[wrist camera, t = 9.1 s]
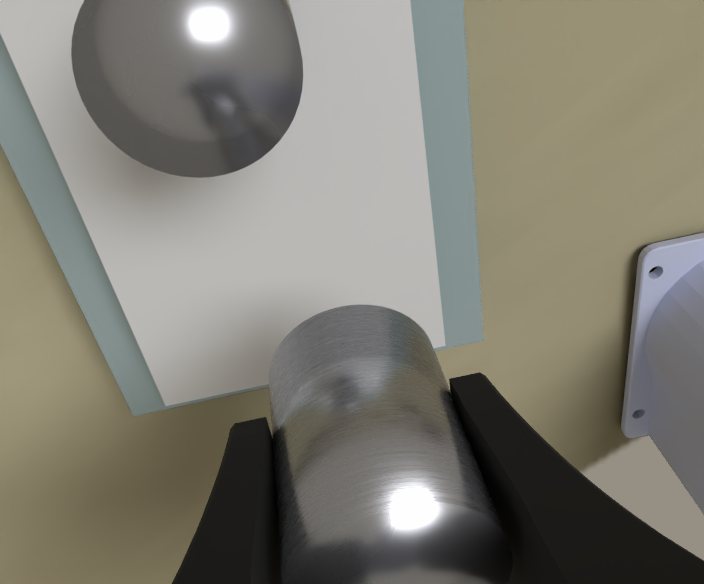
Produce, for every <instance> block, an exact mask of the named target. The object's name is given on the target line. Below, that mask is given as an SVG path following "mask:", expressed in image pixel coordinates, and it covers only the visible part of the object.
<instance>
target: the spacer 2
mask: <svg viewBox="0 0 704 584" xmlns="http://www.w3.org/2000/svg"><path fill="white" fill-rule="evenodd" d="M269 389H270V405H271V421H272V436H273V452H274V468H275V483H276V499H277V515H278V530H279V546H280V562H281V577H282V584H507V582H508V580H509V578H510V575H511V572H512V567H513V554H512V549H511V546H510V544H509V541H508V538H507V536H506V533H505V531H504V528H503V526H502V523H501V520H500V518H499V515H498V513H497V510H496V508H495V505H494V503H493V500H492V497H491V495H490V492H489V490H488V487H487V485H486V482H485V479H484V477H483V474H482V472H481V469H480V467H479V464H478V461H477V459H476V456H475V454H474V451H473V449H472V446H471V444H470V441H469V439H468V436H467V434H466V431H465V429H464V426H463V424H462V421H461V419H460V416H459V413H458V411H457V408H456V406H455V403H454V401H453V398H452V395H451V392H450V390H449V387H448V384H447V382H446V379H445V377H444V374H443V372H442V369H441V367H440V364H439V361H438V359H437V356H436V354H435V351H434V349H433V346H432V344H431V341H430V339H429V337H428V336H427V334H426V333H425V331H424V330H423V329H422V328H421V327H420V326H419V325H418V324H417V323H416V322H415V321H414V320H412V319H411V318H410V317H408V316H406V315H404V314H403V313H401V312H398V311H396V310H393V309H390V308H386V307H382V306H376V305H361V304H358V305H347V306H342V307H336V308H333V309H330V310H326V311H323V312H321V313H319V314H316V315H314V316H312V317H310V318H309V319H307V320H305V321H303V322H302V323H301V324H299V325H298V326H297V327H295V328H294V329H293V330H292V331H291V332H290V333H289V334H288V335H287V336H286V337H285V338H284V339H283V340H282V342H281V343H280V344H279V346H278V348H277V349H276V351H275V353H274V355H273V358H272V360H271V364H270V368H269Z"/></svg>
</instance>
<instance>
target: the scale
mask: <svg viewBox="0 0 704 584" xmlns="http://www.w3.org/2000/svg"><path fill="white" fill-rule="evenodd" d="M289 1H290V5H291V10H292V14H293V18H294V23H295V27H296V31H297V36H298V40H299V44H300V49H301V55H302V60H303V86H302V93H301V98H300V103H299V106H298V109H297V111H296V114H295V117H294V119H293V121H292V123H291V125H290V127H289V129H288V130H287V131H286V133H285V134H284V136H283V137H282V139H281V140H280V141H279V142H278V143H277V144H276V145H275V146H274V148H273V149H272V150H270V151H269V152H268V153H267V154H266V155H264V156H263V157H262V158H261V159H259V160H257V161H256V162H254V163H253V164H251V165H249V166H247V167H245V168H243V169H240V170H238V171H235V172H232V173H229V174H226V175H220V176H215V177H203V178H194V177H182V176H177V175H171V174H168V173H164V172H161V171H158V170H155V169H153V168H150V167H148V166H146V165H143V164H142V163H140V162H138V161H136V160H135V159H133V158H131V157H130V156H128V155H127V154H126V153H124V152H123V151H121V150H120V149H119V148H118V147H117V146H115V145H114V144H113V143H112V142H111V141H110V140H109V139H108V138H107V137H106V136H105V135H104V134H103V132H102V131H101V130H100V129H99V128H98V127H97V125H96V124H95V122H94V121H93V119H92V118H91V116H90V115H89V113H88V111H87V109H86V107H85V106H84V104H83V102H82V100H81V97H80V94H79V92H78V89H77V86H76V82H75V78H74V74H73V68H72V58H71V47H72V36H73V30H74V25H75V22H76V19H77V15H78V12H79V10H80V8H81V6H82V4H83V2H84V0H0V144H1V146H2V148H3V150H4V152H5V154H6V156H7V158H8V160H9V162H10V165H11V167H12V169H13V171H14V173H15V175H16V177H17V179H18V181H19V183H20V185H21V187H22V189H23V191H24V193H25V195H26V197H27V199H28V201H29V203H30V205H31V208H32V210H33V212H34V214H35V216H36V218H37V220H38V222H39V224H40V226H41V228H42V230H43V232H44V234H45V236H46V238H47V240H48V242H49V244H50V246H51V248H52V251H53V253H54V255H55V257H56V259H57V261H58V263H59V265H60V267H61V269H62V271H63V273H64V275H65V277H66V279H67V281H68V283H69V285H70V287H71V289H72V292H73V294H74V296H75V298H76V300H77V302H78V304H79V306H80V308H81V310H82V312H83V314H84V316H85V318H86V320H87V322H88V324H89V326H90V328H91V330H92V332H93V335H94V337H95V339H96V341H97V343H98V345H99V347H100V349H101V351H102V353H103V355H104V357H105V359H106V361H107V363H108V365H109V367H110V369H111V371H112V373H113V376H114V378H115V380H116V382H117V384H118V386H119V388H120V390H121V392H122V394H123V396H124V398H125V400H126V402H127V404H128V406H129V408H130V410H131V412H132V414H133V416H138V415H142V414H147V413H151V412H156V411H161V410H165V409H170V408H175V407H179V406H184V405H188V404H193V403H198V402H202V401H207V400H211V399H216V398H221V397H225V396H230V395H235V394H239V393H244V392H248V391H253V390H258V389H262V388H267V387H269V368H270V364H271V360H272V358H273V355H274V353H275V351H276V349H277V348H278V346H279V344H280V343H281V342H282V340H283V339H284V338H285V337H286V336H287V335H288V334H289V333H290V332H291V331H292V330H293V329H294V328H295V327H297V326H298V325H299V324H301V323H302V322H303V321H305V320H307V319H309V318H310V317H312V316H314V315H316V314H319V313H321V312H323V311H326V310H330V309H333V308H336V307H342V306H347V305H358V304H361V305H376V306H382V307H386V308H390V309H393V310H396V311H398V312H401V313H403V314H404V315H406V316H408V317H410V318H411V319H412V320H414V321H415V322H416V323H417V324H418V325H419V326H420V327H421V328H422V329H423V330H424V331H425V333H426V334H427V336H428V337H429V339H430V341H431V344H432V346H433V349H434V351H438V350H442V349H447V348H452V347H456V346H461V345H465V344H470V343H475V342H479V341H484V338H483V322H482V305H481V288H480V271H479V255H478V238H477V221H476V204H475V188H474V171H473V154H472V137H471V121H470V104H469V87H468V70H467V54H466V37H465V20H464V3H463V0H289Z"/></svg>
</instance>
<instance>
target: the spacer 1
mask: <svg viewBox="0 0 704 584" xmlns="http://www.w3.org/2000/svg"><path fill="white" fill-rule="evenodd" d="M71 58H72V68H73V74H74V78H75V82H76V86H77V89H78V92H79V94H80V97H81V100H82V102H83V104H84V106H85V107H86V109H87V111H88V113H89V115H90V116H91V118H92V119H93V121H94V122H95V124H96V125H97V127H98V128H99V129H100V130H101V131H102V132H103V134H104V135H105V136H106V137H107V138H108V139H109V140H110V141H111V142H112V143H113V144H114V145H115V146H117V147H118V148H119V149H120V150H121V151H123V152H124V153H126V154H127V155H128V156H130V157H131V158H133V159H135V160H136V161H138V162H140V163H142V164H143V165H146V166H148V167H150V168H153V169H155V170H158V171H161V172H164V173H168V174H171V175H177V176H182V177H194V178H203V177H215V176H220V175H226V174H229V173H232V172H235V171H238V170H240V169H243V168H245V167H247V166H249V165H251V164H253V163H254V162H256V161H257V160H259V159H261V158H262V157H263V156H264V155H266V154H267V153H268V152H269V151H270V150H272V149H273V148H274V146H275V145H276V144H277V143H278V142H279V141H280V140H281V139H282V137H283V136H284V134H285V133H286V131H287V130H288V129H289V127H290V125H291V123H292V121H293V119H294V117H295V114H296V111H297V109H298V106H299V103H300V98H301V93H302V86H303V60H302V55H301V49H300V44H299V40H298V36H297V31H296V27H295V23H294V18H293V14H292V10H291V5H290V1H289V0H84V2H83V4H82V6H81V8H80V10H79V12H78V15H77V19H76V22H75V25H74V30H73V36H72V47H71Z"/></svg>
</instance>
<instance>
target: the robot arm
mask: <svg viewBox="0 0 704 584" xmlns="http://www.w3.org/2000/svg"><path fill="white" fill-rule="evenodd" d="M656 266H657V267H656ZM654 267H656V269H655V270H654V271H653V272H650V273H649V271H650V270H651V269H652V268H654ZM449 380H450V392H451V395H452V398H453V401H454V403H455V406H456V408H457V411H458V413H459V416H460V419H461V421H462V424H463V426H464V429H465V431H466V434H467V436H468V439H469V441H470V444H471V446H472V449H473V451H474V454H475V456H476V459H477V461H478V464H479V467H480V469H481V472H482V474H483V477H484V479H485V482H486V485H487V487H488V490H489V492H490V495H491V497H492V500H493V503H494V505H495V508H496V510H497V513H498V515H499V518H500V520H501V523H502V526H503V528H504V531H505V533H506V536H507V538H508V541H509V544H510V546H511V549H512V554H513V567H512V572H511V575H510V578H509V580H508V582H507V584H704V561H703V560H702V559H700V558H698V557H697V556H695V555H694V554H692V553H690V552H689V551H687V550H686V549H684V548H682V547H681V546H679V545H678V544H676V543H675V542H673V541H671V540H670V539H668V538H667V537H665V536H663V535H662V534H660V533H659V532H658V531H656V530H655V529H653V528H652V527H650V526H649V525H647V524H646V523H645V522H643V521H642V520H640V519H639V518H638V517H636V516H635V515H633V514H632V513H631V512H629V511H628V510H626V509H625V508H624V507H623V506H621V505H620V504H619V503H617V502H616V501H615V500H613V499H612V498H611V497H609V496H608V495H607V494H606V493H604V492H603V491H602V490H601V489H599V488H598V487H597V486H596V485H594V484H593V483H592V482H591V481H590V480H588V479H587V478H586V477H585V476H584V475H583V474H581V473H580V472H579V471H578V470H577V469H576V468H574V467H573V466H572V465H571V464H570V463H569V462H568V461H567V460H565V459H564V458H563V457H562V456H561V455H560V454H559V453H558V452H557V451H556V450H555V449H554V448H553V447H551V446H550V445H549V444H548V443H547V442H546V441H545V440H544V439H543V438H542V437H541V436H540V435H539V434H538V433H537V432H536V431H535V430H534V429H533V428H532V427H531V426H530V425H529V424H528V423H527V422H526V421H525V420H524V419H523V418H522V417H521V416H520V415H519V414H518V413H517V412H516V410H515V409H514V408H513V407H512V406H511V405H510V404H509V403H508V402H507V401H506V400H505V399H504V397H503V396H502V395H501V394H500V393H499V392H498V390H497V389H496V388H495V387H494V386H493V385H492V383H491V382H490V381H489V380H488V378H487V377H486V376H485V375H483V374H481V373H475V374H471V375H466V376H461V377H456V378H451V379H449ZM621 430H622V432H623V433H624V435H625V436H626V437H627V438H639V437H643V436H648V435H649V436H650V437H651V439H652V440H653V442H654V443H655V444H656V446H657V447H658V449H659V450H660V452H661V453H662V455H663V456H664V457H665V459H666V460H667V462H668V463H669V465H670V466H671V468H672V469H673V471H674V472H675V473H676V475H677V476H678V478H679V479H680V481H681V482H682V484H683V485H684V487H685V488H686V489H687V491H688V492H689V494H690V495H691V496H692V498H693V499H694V501H695V503H696V504H697V505H698V507H699V508H700V510H701V511H702V513H703V514H704V233H700V234H695V235H690V236H686V237H681V238H676V239H672V240H667V241H662V242H658V243H653V244H651V245H648V246H647V247H645V248H644V249H643V250H642V251H641V253H640V255H639V258H638V266H637V276H636V286H635V296H634V305H633V315H632V325H631V335H630V344H629V354H628V364H627V374H626V384H625V393H624V403H623V413H622V423H621ZM172 584H282V577H281V562H280V546H279V530H278V515H277V499H276V483H275V468H274V452H273V439H272V435H271V432H270V429H269V426H268V422H267V419H266V417H264V418H259V419H255V420H250V421H245V422H240V423H235V424H234V425H233V427H232V428H231V429H230V433H229V438H228V442H227V445H226V449H225V453H224V456H223V459H222V462H221V466H220V469H219V472H218V475H217V478H216V481H215V484H214V487H213V489H212V492H211V495H210V497H209V500H208V502H207V505H206V508H205V510H204V513H203V516H202V518H201V521H200V523H199V526H198V528H197V530H196V533H195V535H194V537H193V539H192V542H191V544H190V546H189V548H188V551H187V553H186V555H185V557H184V560H183V562H182V564H181V566H180V568H179V570H178V572H177V574H176V576H175V578H174V580H173V582H172Z"/></svg>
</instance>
